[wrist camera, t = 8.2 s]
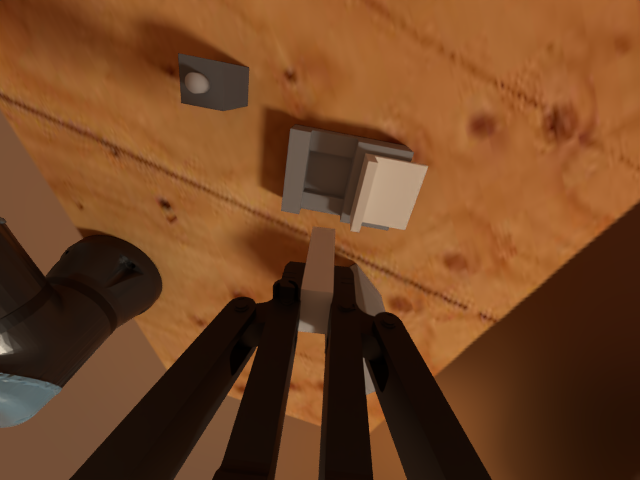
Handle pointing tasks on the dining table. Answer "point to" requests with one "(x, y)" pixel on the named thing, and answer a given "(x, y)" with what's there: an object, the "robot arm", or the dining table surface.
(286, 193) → the socket
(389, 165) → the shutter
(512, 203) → the dining table surface
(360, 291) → the skincare box
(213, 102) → the plug
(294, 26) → the dining table surface
